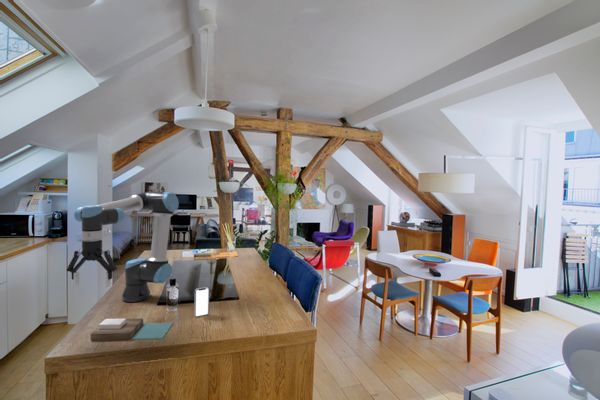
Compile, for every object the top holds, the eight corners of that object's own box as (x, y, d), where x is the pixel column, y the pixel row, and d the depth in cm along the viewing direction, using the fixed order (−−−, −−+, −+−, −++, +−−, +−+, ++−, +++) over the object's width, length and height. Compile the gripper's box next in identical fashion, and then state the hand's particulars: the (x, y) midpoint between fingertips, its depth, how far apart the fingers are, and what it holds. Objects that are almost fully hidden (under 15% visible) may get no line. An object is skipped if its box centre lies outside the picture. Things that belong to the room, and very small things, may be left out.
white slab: (105, 323, 143) (105, 318, 143) (126, 322, 144) (126, 318, 144) (98, 329, 137) (98, 324, 137) (119, 328, 138) (119, 324, 138)
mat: (145, 324, 150) (145, 323, 150) (172, 323, 151) (172, 322, 151) (131, 339, 135) (131, 338, 135) (162, 339, 136) (162, 338, 136)
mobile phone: (208, 313, 164) (208, 286, 163) (209, 314, 163) (209, 287, 162) (193, 317, 160) (194, 288, 159) (194, 317, 159) (194, 289, 158)
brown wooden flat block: (108, 324, 148) (108, 318, 148) (143, 324, 150) (143, 318, 150) (90, 340, 133) (90, 333, 133) (129, 339, 135) (129, 333, 135)
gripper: (56, 241, 133) (57, 289, 134) (117, 241, 136) (117, 288, 137) (67, 238, 140) (67, 283, 141) (125, 238, 143) (124, 283, 144)
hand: (92, 286), depth 139 cm, fingers open, 13 cm apart
